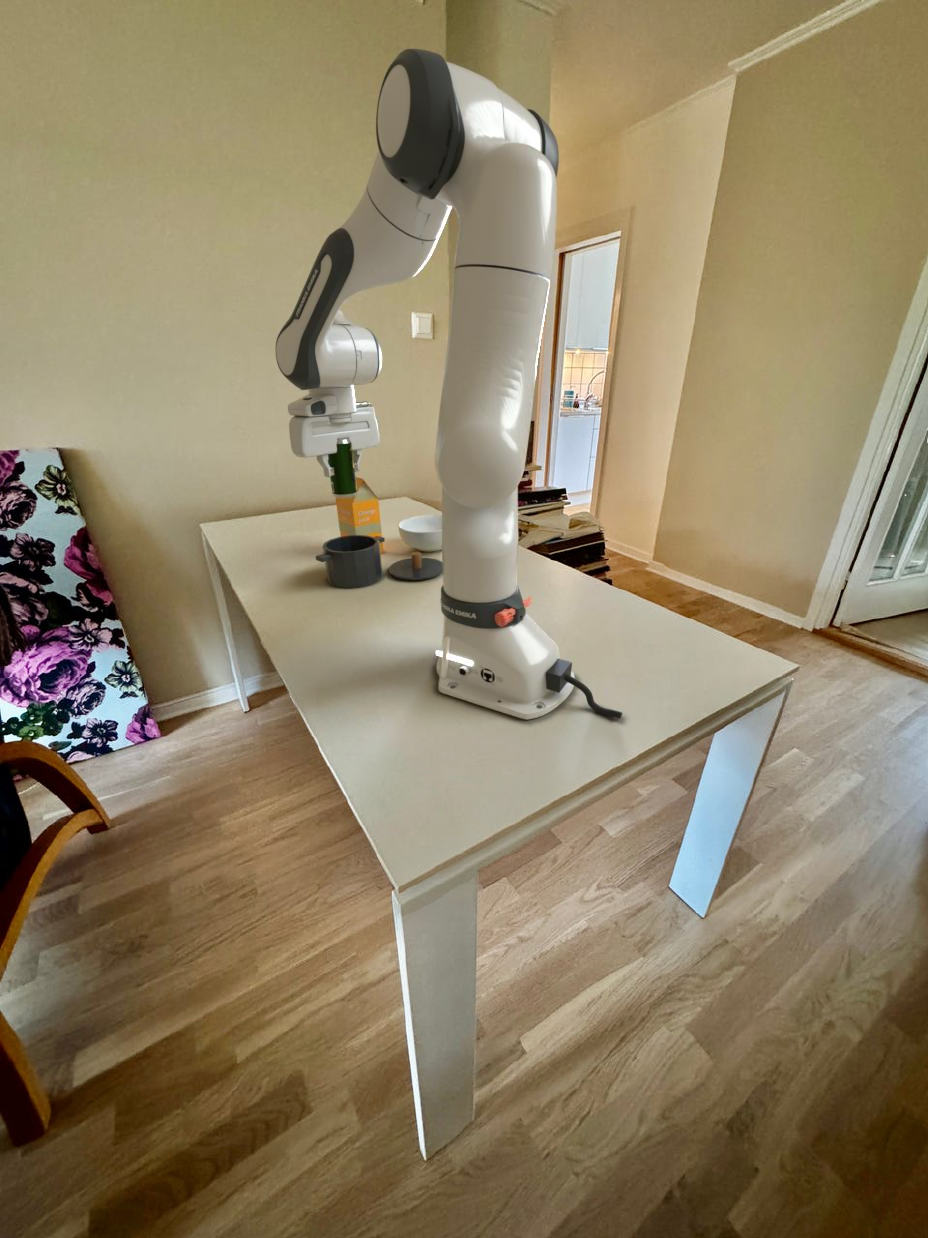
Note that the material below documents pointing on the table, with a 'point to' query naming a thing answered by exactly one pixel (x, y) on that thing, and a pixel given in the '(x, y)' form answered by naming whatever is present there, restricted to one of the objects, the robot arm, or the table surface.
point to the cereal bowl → (422, 532)
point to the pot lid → (416, 568)
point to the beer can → (343, 470)
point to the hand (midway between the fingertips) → (342, 474)
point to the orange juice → (360, 513)
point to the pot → (352, 560)
